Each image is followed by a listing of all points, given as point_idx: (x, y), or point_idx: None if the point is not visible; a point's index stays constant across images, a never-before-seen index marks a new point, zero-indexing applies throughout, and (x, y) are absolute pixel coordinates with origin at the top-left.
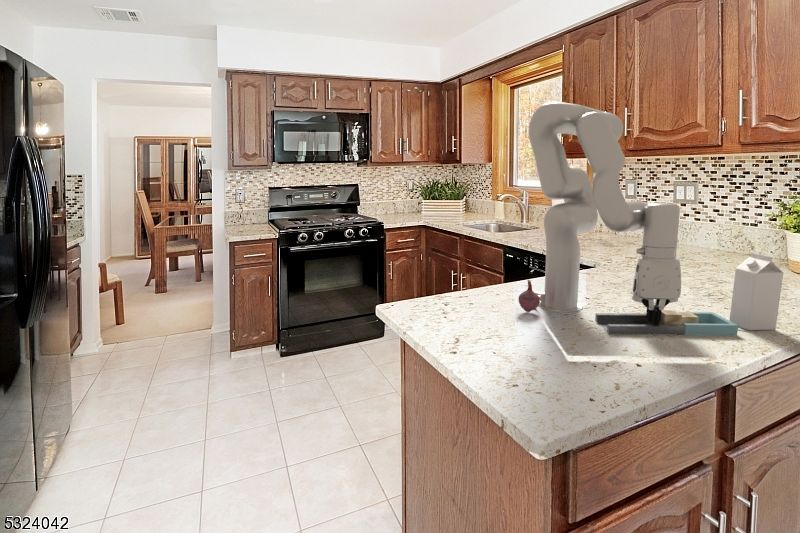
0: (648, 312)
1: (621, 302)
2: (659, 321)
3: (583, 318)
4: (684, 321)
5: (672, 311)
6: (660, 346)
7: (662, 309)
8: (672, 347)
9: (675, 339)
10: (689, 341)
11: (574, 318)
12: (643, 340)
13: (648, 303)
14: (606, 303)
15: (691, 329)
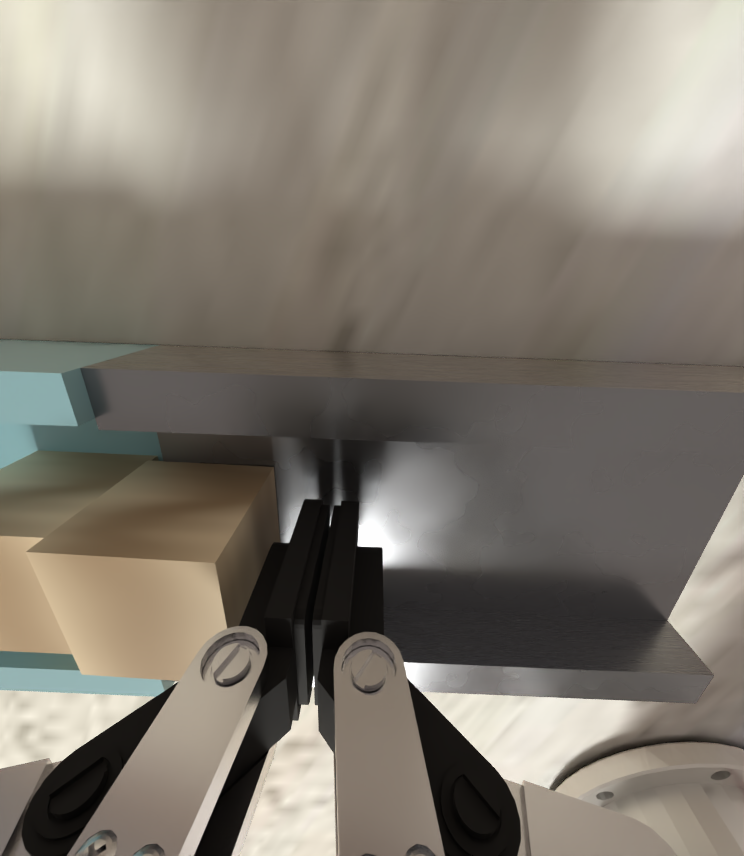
0: (381, 623)
1: (309, 842)
2: None
3: None
4: (62, 504)
5: (110, 649)
6: (449, 117)
7: (224, 635)
8: (346, 83)
9: (237, 326)
10: (139, 275)
11: None
12: (511, 300)
13: (420, 752)
14: None
15: (45, 358)
